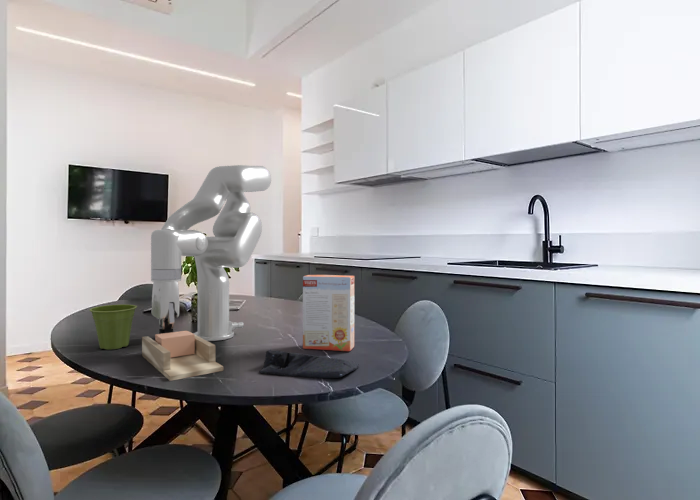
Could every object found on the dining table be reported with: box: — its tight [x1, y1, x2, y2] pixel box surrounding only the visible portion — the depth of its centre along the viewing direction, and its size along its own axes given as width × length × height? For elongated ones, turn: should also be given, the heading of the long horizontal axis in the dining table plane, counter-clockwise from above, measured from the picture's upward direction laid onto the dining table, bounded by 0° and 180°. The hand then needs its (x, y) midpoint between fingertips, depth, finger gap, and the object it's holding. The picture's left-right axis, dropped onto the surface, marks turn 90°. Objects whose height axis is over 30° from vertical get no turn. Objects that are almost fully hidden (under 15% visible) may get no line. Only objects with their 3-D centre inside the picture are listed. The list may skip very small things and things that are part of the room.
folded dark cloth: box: [258, 349, 360, 379], centre depth 102 cm, size 15×22×5 cm
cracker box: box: [302, 274, 355, 352], centre depth 121 cm, size 14×6×21 cm, turn 77°
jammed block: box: [154, 330, 195, 358], centre depth 109 cm, size 8×6×5 cm
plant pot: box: [89, 303, 138, 351], centre depth 121 cm, size 12×12×11 cm
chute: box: [141, 335, 224, 382], centre depth 106 cm, size 12×25×5 cm, turn 39°
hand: (166, 343), depth 115 cm, fingers closed
